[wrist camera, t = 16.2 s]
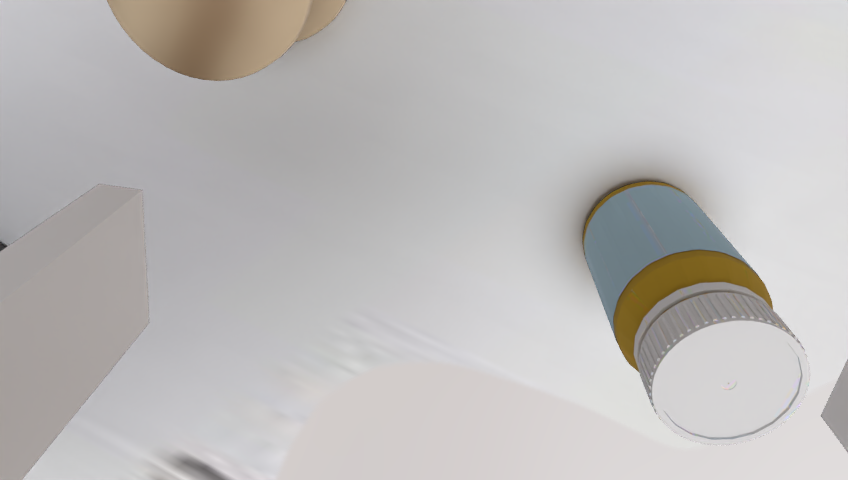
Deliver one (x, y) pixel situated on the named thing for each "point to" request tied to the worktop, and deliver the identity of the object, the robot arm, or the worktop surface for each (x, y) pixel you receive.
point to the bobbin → (221, 32)
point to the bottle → (692, 317)
